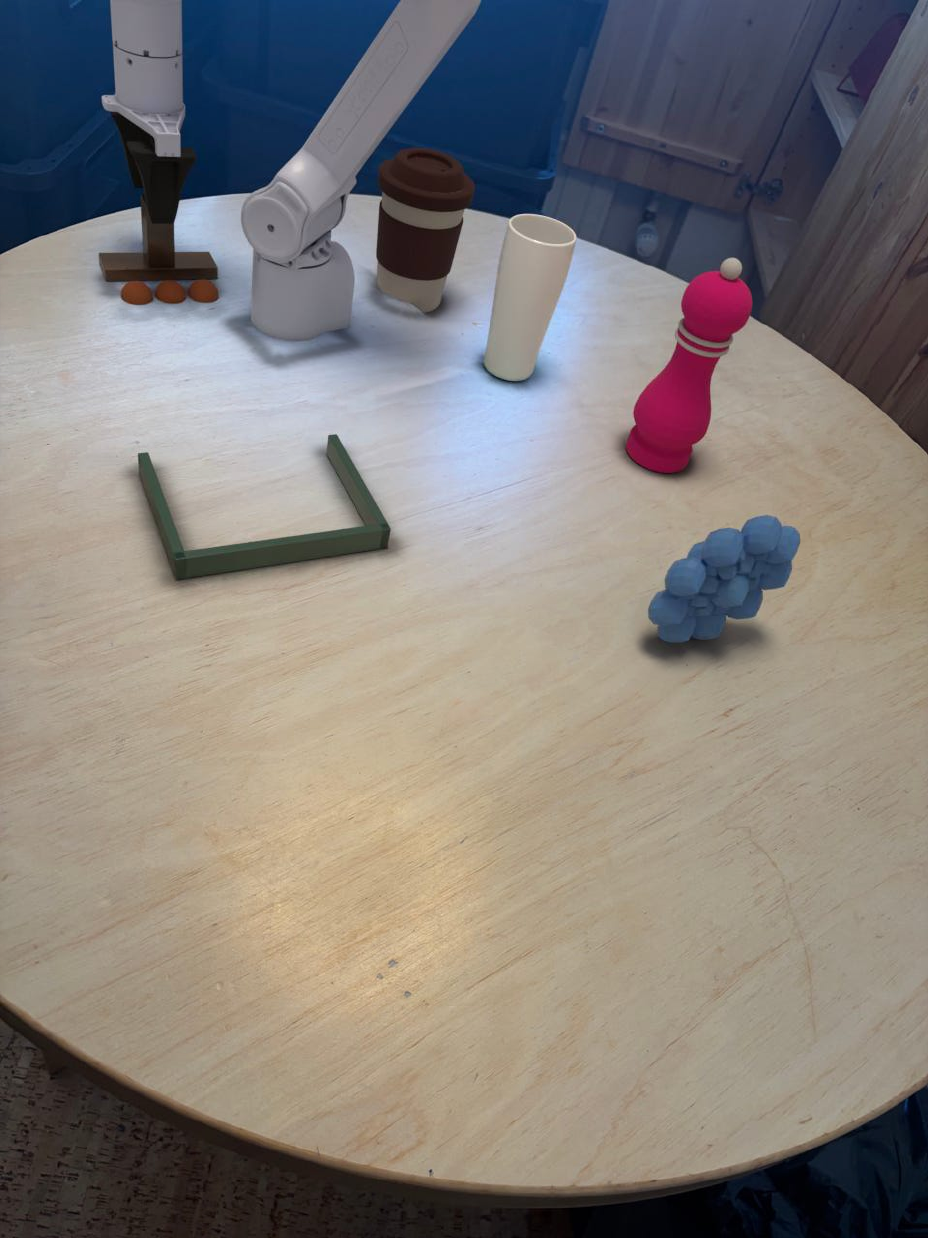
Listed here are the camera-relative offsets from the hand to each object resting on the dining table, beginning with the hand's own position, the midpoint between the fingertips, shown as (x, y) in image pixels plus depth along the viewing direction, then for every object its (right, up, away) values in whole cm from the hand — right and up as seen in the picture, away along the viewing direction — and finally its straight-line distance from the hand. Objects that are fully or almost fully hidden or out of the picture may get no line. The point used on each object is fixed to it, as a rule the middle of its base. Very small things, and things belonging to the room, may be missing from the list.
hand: (153, 203), depth 91 cm
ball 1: (-2, -9, +1) cm, 9 cm away
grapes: (+48, -41, -15) cm, 65 cm away
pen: (+14, -31, -15) cm, 37 cm away
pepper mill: (+49, -24, +2) cm, 54 cm away
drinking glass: (+34, -14, +8) cm, 38 cm away
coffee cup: (+24, -4, +15) cm, 28 cm away
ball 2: (+4, -7, +4) cm, 9 cm away
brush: (-1, -6, +6) cm, 9 cm away
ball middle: (+1, -8, +2) cm, 8 cm away
